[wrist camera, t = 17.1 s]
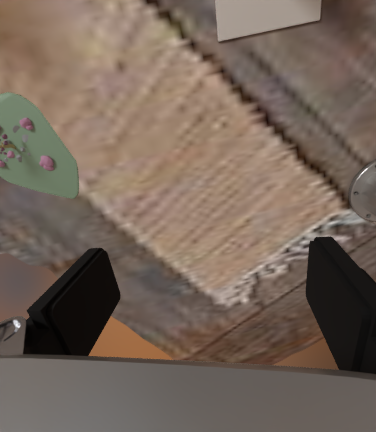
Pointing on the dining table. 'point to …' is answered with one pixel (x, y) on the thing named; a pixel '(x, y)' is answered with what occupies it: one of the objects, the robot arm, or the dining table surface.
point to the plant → (34, 150)
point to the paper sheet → (262, 16)
